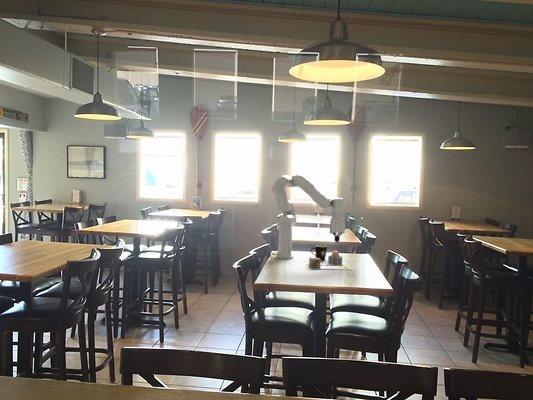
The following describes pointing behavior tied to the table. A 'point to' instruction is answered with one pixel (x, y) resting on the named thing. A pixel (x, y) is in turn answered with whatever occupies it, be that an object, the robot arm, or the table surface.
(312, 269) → the lane
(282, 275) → the table surface
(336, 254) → the dome
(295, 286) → the table surface
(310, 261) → the die
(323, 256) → the coffee mug
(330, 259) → the dome ring
